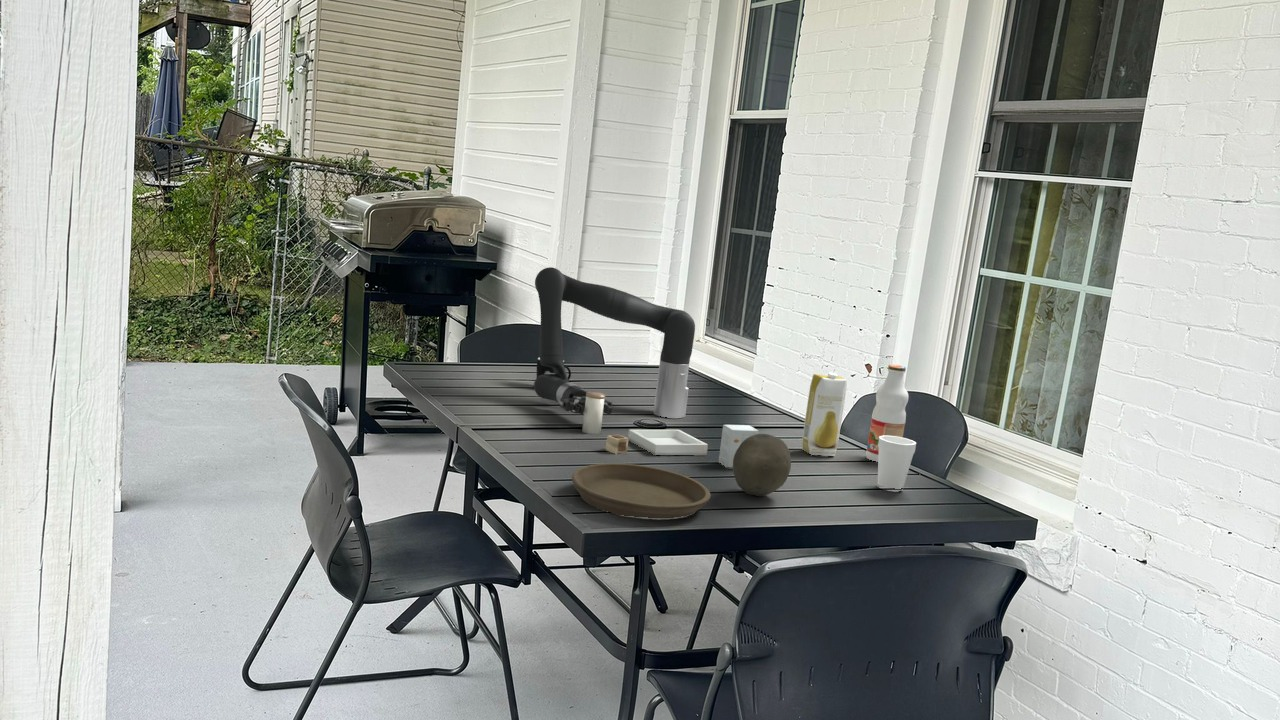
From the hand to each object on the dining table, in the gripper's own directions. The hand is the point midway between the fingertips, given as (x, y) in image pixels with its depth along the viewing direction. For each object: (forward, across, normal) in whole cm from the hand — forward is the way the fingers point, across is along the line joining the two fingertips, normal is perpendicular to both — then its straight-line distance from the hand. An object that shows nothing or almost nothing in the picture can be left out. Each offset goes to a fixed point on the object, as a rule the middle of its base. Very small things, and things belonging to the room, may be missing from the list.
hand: (596, 410), depth 284 cm
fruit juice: (+31, +78, +7) cm, 84 cm away
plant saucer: (+58, -16, +7) cm, 61 cm away
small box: (+33, +26, +7) cm, 43 cm away
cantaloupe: (+58, +16, +7) cm, 61 cm away
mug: (-57, +11, +7) cm, 58 cm away
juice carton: (+23, +61, +7) cm, 66 cm away
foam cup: (+56, +59, +7) cm, 82 cm away
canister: (-2, 0, +6) cm, 7 cm away
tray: (+15, +15, +6) cm, 22 cm away
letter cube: (+18, -2, +7) cm, 19 cm away
